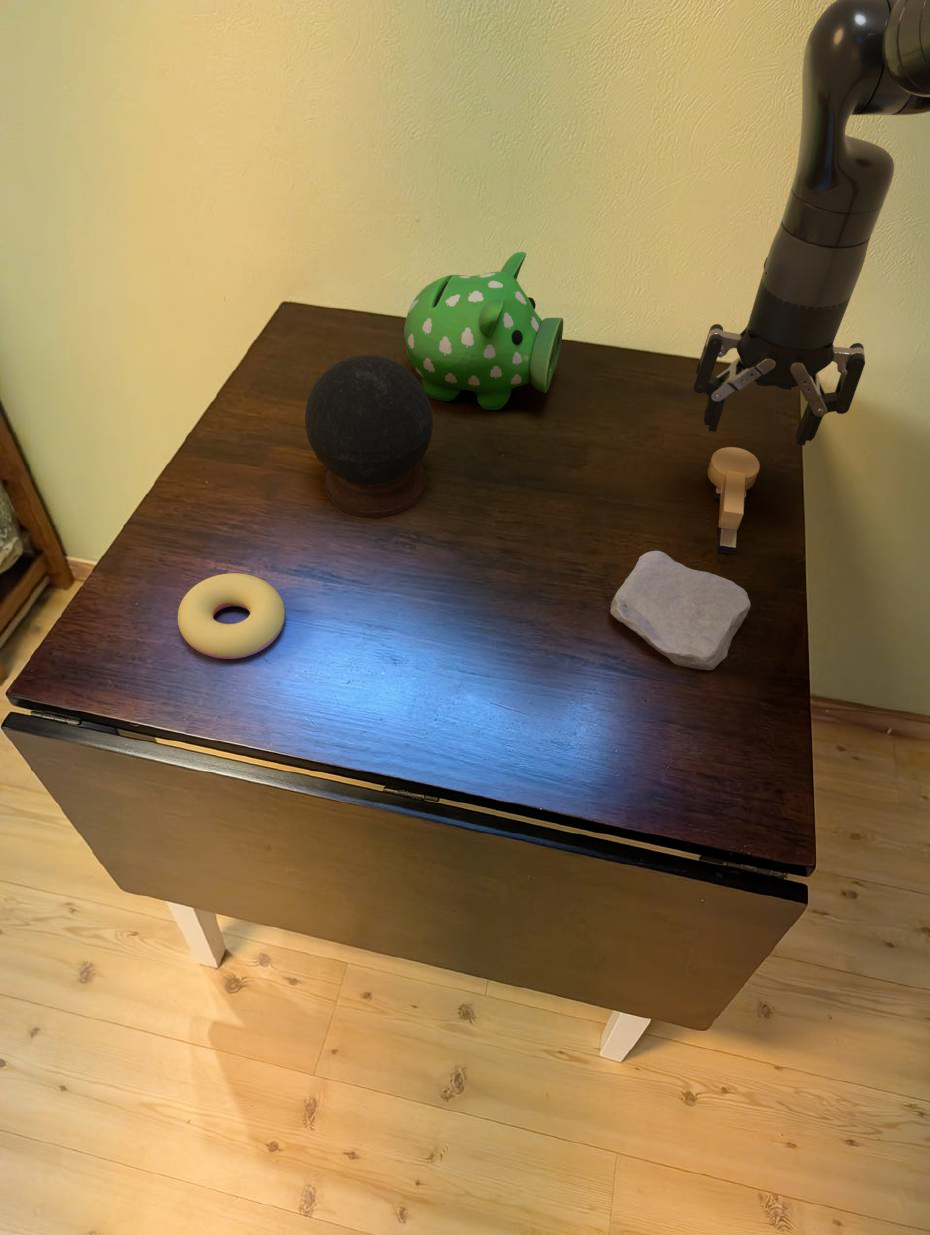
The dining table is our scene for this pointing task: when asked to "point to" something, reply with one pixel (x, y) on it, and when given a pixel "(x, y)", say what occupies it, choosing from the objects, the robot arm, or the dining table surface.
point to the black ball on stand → (370, 435)
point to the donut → (231, 637)
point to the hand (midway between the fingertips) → (756, 433)
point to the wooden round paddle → (732, 482)
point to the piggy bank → (481, 337)
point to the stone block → (681, 610)
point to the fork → (726, 532)
